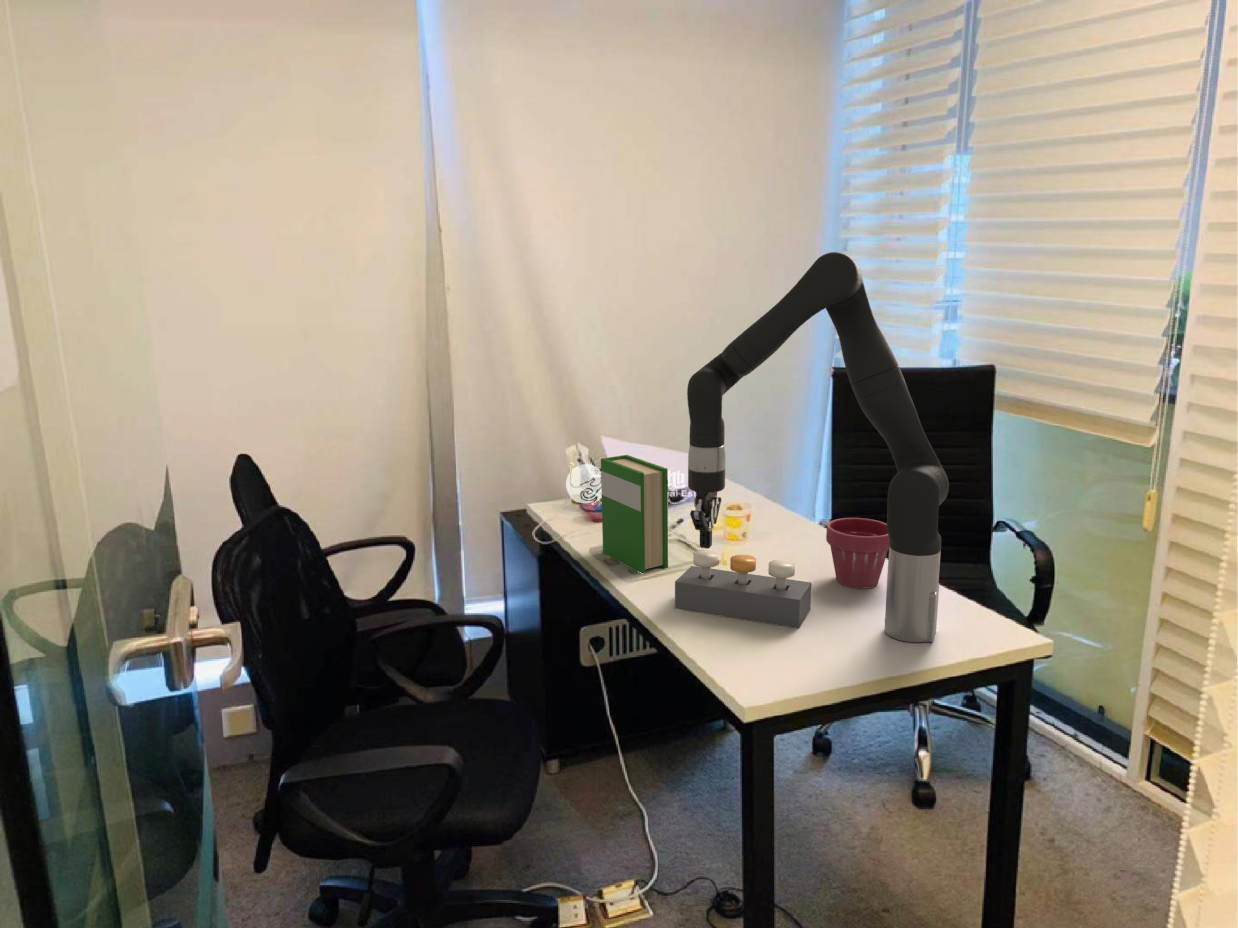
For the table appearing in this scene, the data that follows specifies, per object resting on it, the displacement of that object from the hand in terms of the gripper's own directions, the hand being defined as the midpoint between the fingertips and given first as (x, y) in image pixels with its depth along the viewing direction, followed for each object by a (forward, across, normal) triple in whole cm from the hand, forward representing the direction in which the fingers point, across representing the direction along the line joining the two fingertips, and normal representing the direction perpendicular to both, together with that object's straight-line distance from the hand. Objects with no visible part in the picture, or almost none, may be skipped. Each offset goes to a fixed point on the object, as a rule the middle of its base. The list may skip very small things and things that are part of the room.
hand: (705, 547), depth 182 cm
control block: (+12, 0, -8) cm, 15 cm away
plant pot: (+13, +25, -27) cm, 39 cm away
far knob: (+9, 0, 0) cm, 9 cm away
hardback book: (+13, +19, +25) cm, 34 cm away
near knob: (+8, 0, -16) cm, 18 cm away
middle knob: (+8, 0, -8) cm, 12 cm away
